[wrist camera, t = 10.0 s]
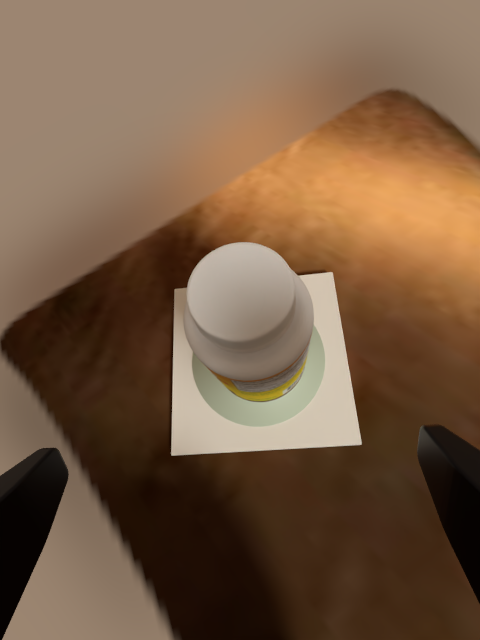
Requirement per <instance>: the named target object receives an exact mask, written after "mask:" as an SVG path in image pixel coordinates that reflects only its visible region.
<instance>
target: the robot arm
mask: <svg viewBox="0 0 480 640" xmlns="http://www.w3.org/2000/svg"><path fill="white" fill-rule="evenodd" d="M417 454H418V460H419V463H420V466H421V469H422V471H423V474H424V477H425V480H426V482H427V485H428V488H429V491H430V493H431V496H432V499H433V502H434V504H435V507H436V510H437V513H438V515H439V518H440V521H441V523H442V526H443V528H444V531H445V533H446V535H447V537H448V539H449V541H450V544H451V546H452V548H453V550H454V552H455V554H456V556H457V558H458V560H459V562H460V564H461V566H462V568H463V570H464V572H465V575H466V577H467V579H468V581H469V583H470V585H471V587H472V589H473V591H474V593H475V595H476V597H477V599H478V601H479V603H480V450H479V449H477V448H476V447H474V446H473V445H471V444H470V443H468V442H467V441H465V440H464V439H462V438H460V437H459V436H457V435H456V434H454V433H453V432H451V431H450V430H448V429H447V428H445V427H444V426H442V425H439V424H434V425H423V426H421V428H420V432H419V441H418V450H417ZM67 481H68V469H67V467H66V465H65V462H64V460H63V458H62V456H61V454H60V452H59V450H58V449H56V448H43V449H39V450H37V451H36V452H34V453H33V454H32V455H30V456H29V457H27V458H26V459H24V460H23V461H21V462H20V463H18V464H17V465H15V466H14V467H13V468H11V469H10V470H8V471H7V472H5V473H4V474H2V475H1V476H0V640H2V638H3V636H4V634H5V632H6V629H7V627H8V625H9V623H10V621H11V618H12V616H13V614H14V612H15V609H16V607H17V605H18V603H19V601H20V598H21V596H22V594H23V592H24V590H25V587H26V585H27V583H28V581H29V579H30V576H31V574H32V572H33V569H34V567H35V565H36V563H37V561H38V558H39V556H40V554H41V552H42V550H43V547H44V545H45V543H46V540H47V537H48V535H49V532H50V529H51V526H52V523H53V521H54V518H55V515H56V512H57V509H58V506H59V504H60V501H61V498H62V495H63V492H64V489H65V486H66V484H67Z"/></svg>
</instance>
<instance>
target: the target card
mask: <svg viewBox="0 0 480 640" xmlns="http://www.w3.org/2000/svg"><path fill="white" fill-rule="evenodd" d="M299 277H300V279H301V280H302V281H303V282H304V284H305V286H306V288H307V289H308V291H309V294H310V296H311V299H312V304H313V310H314V324H313V330H312V336H311V340H310V345H309V350H308V355H307V360H306V364H305V368H304V371H303V374H302V376H301V378H300V380H299V382H298V383H297V384H296V386H295V387H294V388H293V389H292V390H291V391H290V392H289V393H287V394H286V395H284V396H283V397H281V398H279V399H276V400H273V401H269V402H251V401H247V400H244V399H242V398H240V397H238V396H236V395H234V394H233V393H232V392H231V391H229V390H228V389H227V388H226V387H225V386H224V385H223V384H222V383H221V382H220V381H219V380H218V379H217V378H216V376H215V375H214V374H213V373H212V372H211V371H210V370H208V368H207V367H206V366H205V365H204V364H203V363H202V362H201V361H200V360H199V359H198V358H197V356H196V355H195V354H194V352H193V351H192V349H191V347H190V345H189V343H188V341H187V338H186V335H185V330H184V321H183V319H184V309H185V304H186V301H187V294H186V293H187V288H180V289H175V290H174V341H173V392H172V443H171V456H174V455H192V454H209V453H227V452H244V451H262V450H279V449H297V448H314V447H332V446H349V445H362V443H361V437H360V431H359V425H358V419H357V413H356V407H355V402H354V396H353V390H352V384H351V378H350V372H349V366H348V361H347V355H346V349H345V343H344V337H343V331H342V325H341V319H340V314H339V308H338V302H337V296H336V290H335V284H334V278H333V273H332V272H328V273H319V274H310V275H301V276H299Z"/></svg>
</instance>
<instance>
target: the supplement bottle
mask: <svg viewBox="0 0 480 640" xmlns="http://www.w3.org/2000/svg"><path fill="white" fill-rule="evenodd" d="M186 294H187V301H186V304H185V309H184V319H183V321H184V330H185V335H186V338H187V341H188V343H189V345H190V347H191V349H192V351H193V352H194V354H195V355H196V356H197V358H198V359H199V360H200V361H201V362H202V363H203V364H204V365H205V366H206V367H207V368H208V370H210V371H211V372H212V373H213V374H214V375H215V376H216V378H217V379H218V380H219V381H220V382H221V383H222V384H223V385H224V386H225V387H226V388H227V389H228V390H229V391H231V392H232V393H233V394H234V395H236V396H238V397H240V398H242V399H244V400H247V401H251V402H269V401H273V400H276V399H279V398H281V397H283V396H284V395H286V394H287V393H289V392H290V391H291V390H292V389H293V388H294V387H295V386H296V384H297V383H298V382H299V380H300V378H301V376H302V374H303V371H304V368H305V364H306V360H307V355H308V350H309V345H310V340H311V336H312V330H313V324H314V310H313V304H312V299H311V296H310V294H309V291H308V289H307V288H306V286H305V284H304V282H303V281H302V280H301V279H300V277H299V276H298V275H297V274H296V273H295V272H294V271H292V270H291V269H290V268H289V266H288V264H287V263H286V262H285V260H284V259H283V258H282V257H281V256H280V255H279V254H277V253H276V252H275V251H273V250H271V249H270V248H268V247H265V246H263V245H260V244H256V243H250V242H238V243H232V244H228V245H224V246H222V247H219V248H217V249H215V250H214V251H212V252H210V253H209V254H207V255H206V256H205V257H204V258H203V259H202V260H201V261H200V262H199V263H198V264H197V265H196V267H195V268H194V270H193V272H192V274H191V276H190V278H189V281H188V285H187V293H186Z"/></svg>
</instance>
